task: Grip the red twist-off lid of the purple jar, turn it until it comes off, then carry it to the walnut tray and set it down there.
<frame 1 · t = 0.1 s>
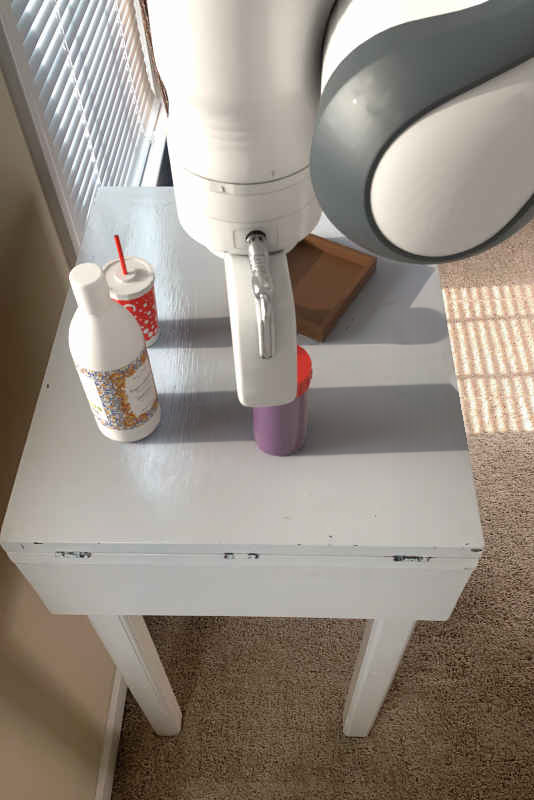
hand: (256, 347, 52), 21 cm above the table, tool pointing down, fingers open, 8 cm apart
bath foam: (130, 419, 75), on the table
beverage cup: (140, 335, 81), on the table
tray: (305, 287, 85), on the table
lid: (279, 367, 64), point 11 cm above the table, screwed on, not yet turned
jar: (279, 434, 73), on the table
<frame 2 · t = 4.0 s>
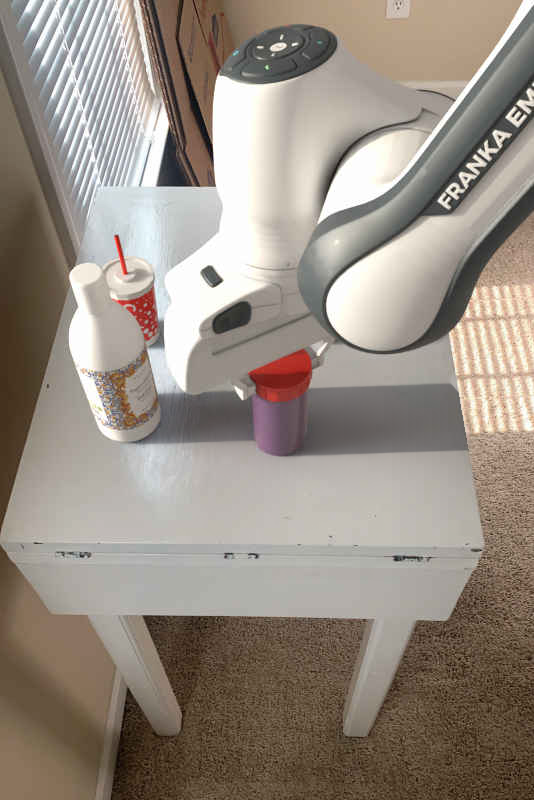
hand: (278, 378, 65), 9 cm above the table, tool pointing down, fingers closed on lid, 6 cm apart
lid: (279, 367, 64), point 11 cm above the table, screwed on, not yet turned, touching gripper
everything else where it was.
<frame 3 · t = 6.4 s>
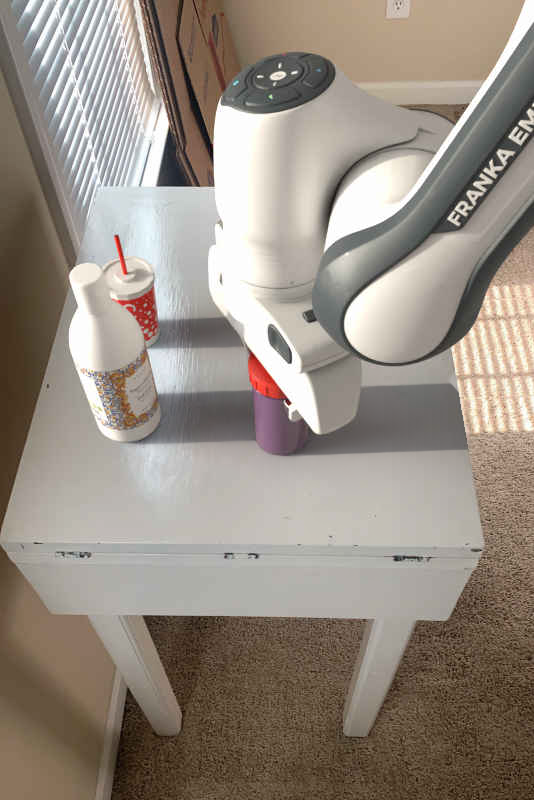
hand: (276, 390, 67), 8 cm above the table, tool pointing down, fingers closed on jar, 5 cm apart
lid: (280, 363, 64), point 11 cm above the table, turned 90° so far, risen 0.2 cm, still on its thread
jar: (281, 434, 73), on the table, touching gripper
everything else where it was.
when the fingers open (7 cm above the table, at t = 8.0 s): jar stays where it is, on the table.
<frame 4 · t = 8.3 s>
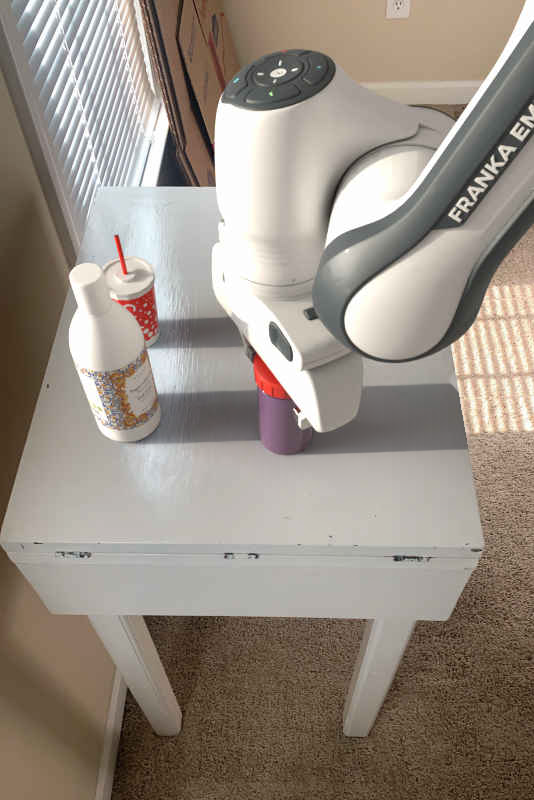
hand: (279, 388, 67), 8 cm above the table, tool pointing down, fingers open, 8 cm apart
jar: (285, 433, 73), on the table
everything else where it was.
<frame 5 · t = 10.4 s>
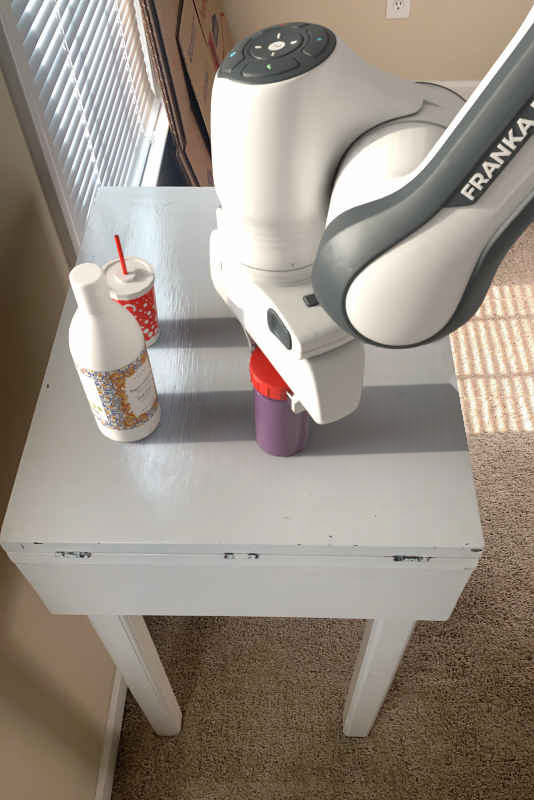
hand: (279, 380, 65), 9 cm above the table, tool pointing down, fingers closed on lid, 6 cm apart
lid: (282, 364, 63), point 11 cm above the table, off its thread, touching gripper
everything else where it was.
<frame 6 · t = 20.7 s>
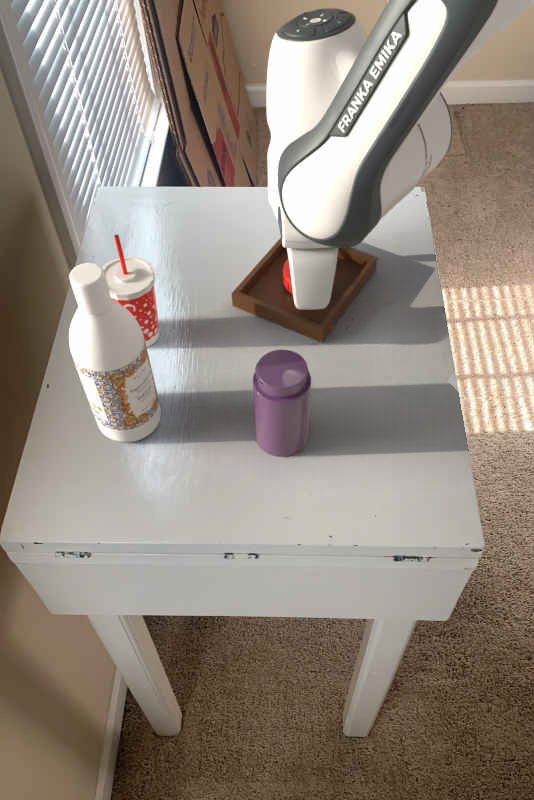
hand: (305, 284, 85), 1 cm above the table, tool pointing down, fingers closed on lid, 6 cm apart
lid: (308, 271, 83), point 3 cm above the table, off its thread, touching gripper
everything else where it was.
when the fingers open (3 cm above the table, at t = 38.8 s): lid drops 3 cm, resting on tray.
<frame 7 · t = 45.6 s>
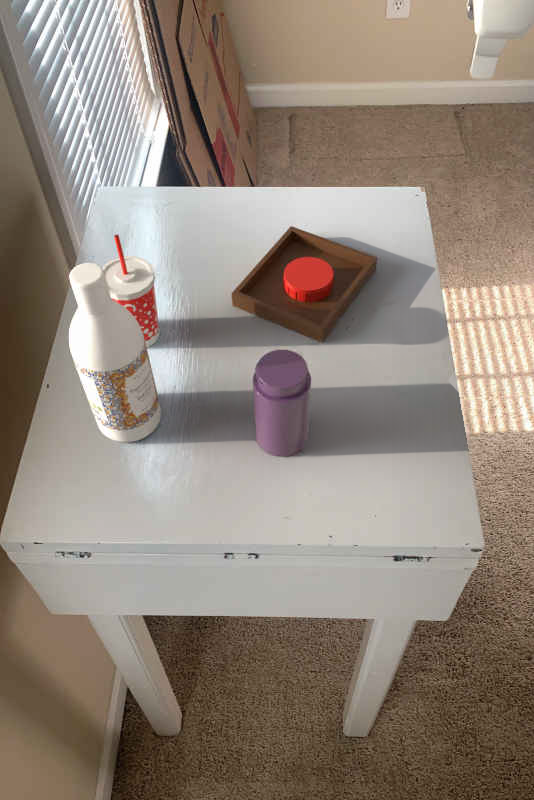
hand: (478, 43, 55), 31 cm above the table, tool pointing down, fingers open, 8 cm apart
lid: (308, 275, 83), point 2 cm above the table, off its thread, touching tray
everything else where it was.
at the end: lid came off its thread; lid inside the target area on the tray (0.4 cm from its centre), point 2.0 cm above the tray's base; the gripper is holding nothing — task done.
